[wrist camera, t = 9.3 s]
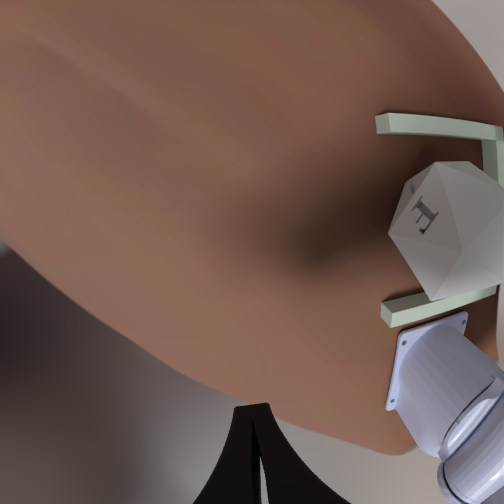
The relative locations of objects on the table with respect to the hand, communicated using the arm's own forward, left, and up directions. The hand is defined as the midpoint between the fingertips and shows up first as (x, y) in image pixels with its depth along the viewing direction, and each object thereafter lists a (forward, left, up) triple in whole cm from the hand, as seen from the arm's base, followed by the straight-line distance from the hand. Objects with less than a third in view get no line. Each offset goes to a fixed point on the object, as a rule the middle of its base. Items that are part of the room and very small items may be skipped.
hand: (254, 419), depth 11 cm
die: (+5, -14, -10) cm, 17 cm away
